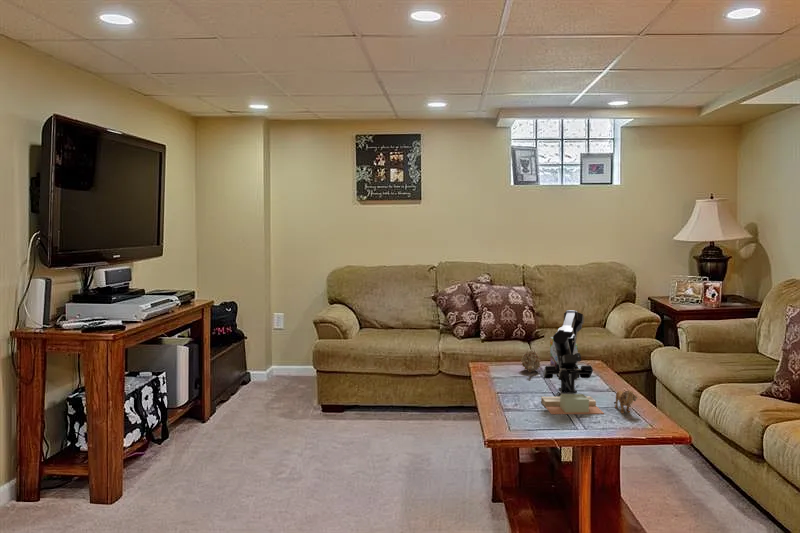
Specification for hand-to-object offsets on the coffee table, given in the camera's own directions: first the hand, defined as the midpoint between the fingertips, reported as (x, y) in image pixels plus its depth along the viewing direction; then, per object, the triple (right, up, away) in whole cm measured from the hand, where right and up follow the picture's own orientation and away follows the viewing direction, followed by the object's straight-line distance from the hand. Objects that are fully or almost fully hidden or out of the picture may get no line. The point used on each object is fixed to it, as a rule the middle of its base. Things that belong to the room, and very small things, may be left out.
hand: (571, 390), depth 239 cm
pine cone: (-3, -3, +58) cm, 58 cm away
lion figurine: (+19, -7, -4) cm, 21 cm away
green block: (0, -4, 0) cm, 4 cm away
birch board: (0, -6, +5) cm, 8 cm away
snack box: (+14, -3, +63) cm, 65 cm away
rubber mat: (0, -7, -3) cm, 8 cm away
